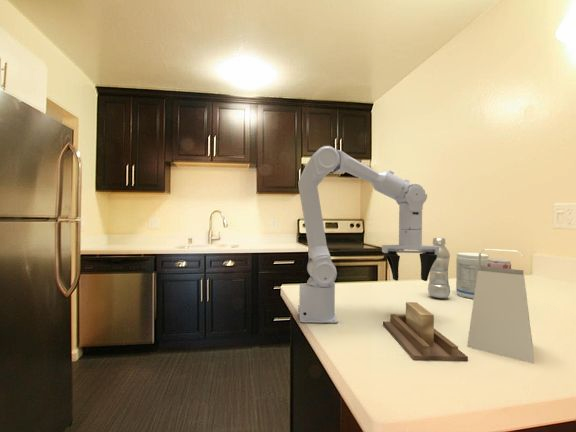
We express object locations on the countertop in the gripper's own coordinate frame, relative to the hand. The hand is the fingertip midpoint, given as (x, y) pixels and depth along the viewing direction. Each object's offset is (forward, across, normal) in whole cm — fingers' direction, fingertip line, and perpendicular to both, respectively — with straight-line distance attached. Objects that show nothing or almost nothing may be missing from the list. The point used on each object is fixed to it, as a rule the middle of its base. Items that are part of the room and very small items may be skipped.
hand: (409, 280), depth 78 cm
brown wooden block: (+9, +4, +15) cm, 18 cm away
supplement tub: (+10, -31, -23) cm, 40 cm away
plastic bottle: (+10, -18, -20) cm, 29 cm away
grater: (+10, -12, +17) cm, 23 cm away
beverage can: (+10, -28, -6) cm, 30 cm away
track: (+10, +4, +15) cm, 18 cm away
